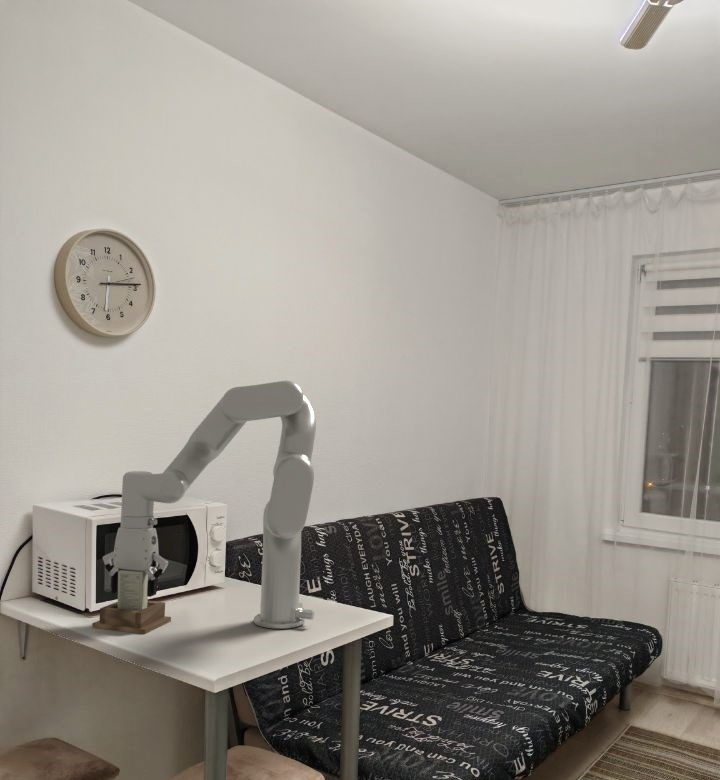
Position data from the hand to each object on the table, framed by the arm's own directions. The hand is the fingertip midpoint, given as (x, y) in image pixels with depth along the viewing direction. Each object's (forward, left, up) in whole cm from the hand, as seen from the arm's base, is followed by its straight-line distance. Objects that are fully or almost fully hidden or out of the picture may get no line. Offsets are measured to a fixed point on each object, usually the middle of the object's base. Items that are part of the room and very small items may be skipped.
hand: (133, 593), depth 187 cm
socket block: (0, 0, -7) cm, 7 cm away
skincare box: (0, 0, -6) cm, 7 cm away
